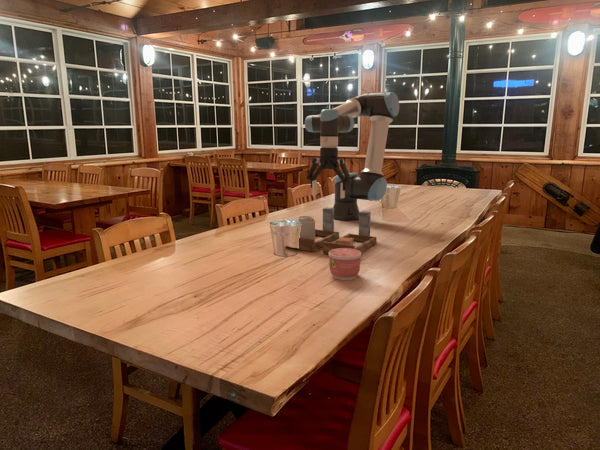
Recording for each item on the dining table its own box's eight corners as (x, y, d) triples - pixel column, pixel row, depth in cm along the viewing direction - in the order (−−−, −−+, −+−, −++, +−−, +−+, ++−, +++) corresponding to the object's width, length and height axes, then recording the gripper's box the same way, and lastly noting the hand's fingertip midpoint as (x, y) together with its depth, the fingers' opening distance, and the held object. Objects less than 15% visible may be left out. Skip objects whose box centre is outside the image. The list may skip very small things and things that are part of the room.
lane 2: (352, 236, 189) (353, 209, 186) (379, 240, 183) (380, 212, 180) (322, 253, 166) (323, 222, 163) (352, 257, 159) (353, 226, 157)
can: (313, 249, 172) (313, 219, 169) (294, 248, 173) (294, 218, 170) (316, 244, 179) (316, 215, 176) (298, 243, 180) (298, 214, 178)
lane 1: (317, 232, 197) (318, 206, 195) (342, 235, 191) (343, 208, 189) (284, 247, 174) (284, 217, 171) (312, 251, 168) (312, 221, 165)
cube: (340, 249, 172) (341, 237, 170) (353, 250, 170) (353, 238, 169) (337, 252, 167) (337, 240, 166) (350, 254, 165) (350, 241, 164)
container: (327, 270, 147) (328, 247, 145) (359, 270, 146) (359, 247, 144) (328, 281, 136) (329, 257, 135) (362, 281, 136) (363, 257, 134)
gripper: (299, 146, 187) (298, 195, 192) (352, 148, 175) (351, 200, 179) (307, 145, 193) (307, 193, 198) (360, 147, 181) (358, 197, 186)
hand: (328, 196), depth 189 cm, fingers open, 13 cm apart
